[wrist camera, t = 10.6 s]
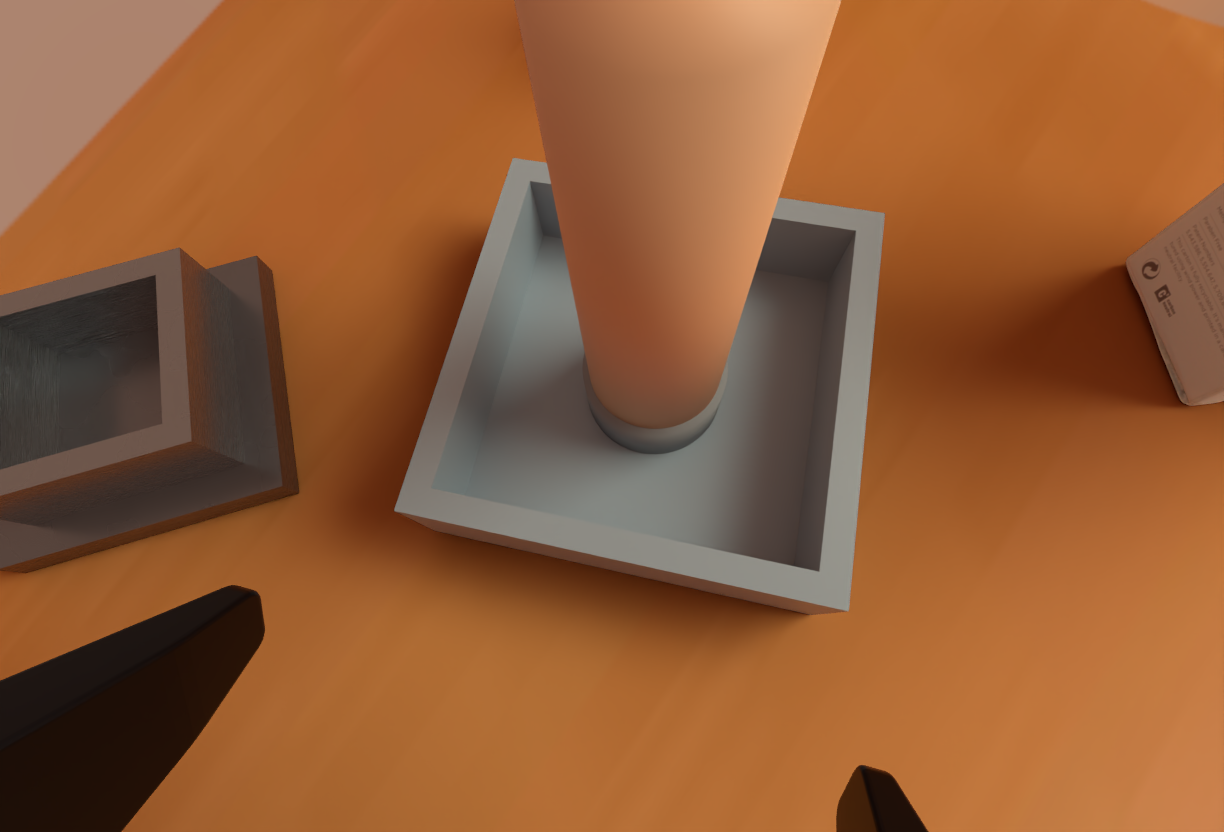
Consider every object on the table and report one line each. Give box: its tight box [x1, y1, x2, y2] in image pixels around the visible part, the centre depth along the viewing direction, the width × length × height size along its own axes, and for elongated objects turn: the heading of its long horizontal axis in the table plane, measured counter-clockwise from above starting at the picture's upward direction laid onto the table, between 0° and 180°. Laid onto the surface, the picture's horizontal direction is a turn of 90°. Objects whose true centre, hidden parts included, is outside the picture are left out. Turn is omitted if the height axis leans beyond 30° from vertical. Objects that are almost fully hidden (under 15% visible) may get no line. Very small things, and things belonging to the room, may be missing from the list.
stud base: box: [0, 248, 299, 573], centre depth 20 cm, size 9×9×4 cm
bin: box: [394, 158, 885, 615], centre depth 19 cm, size 12×12×4 cm
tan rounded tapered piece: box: [514, 0, 841, 454], centre depth 14 cm, size 4×4×14 cm
